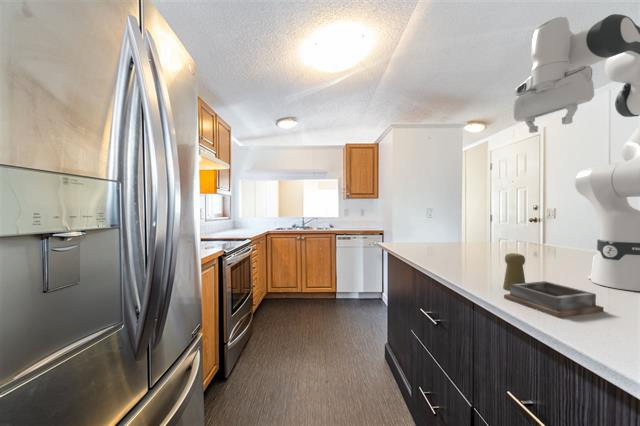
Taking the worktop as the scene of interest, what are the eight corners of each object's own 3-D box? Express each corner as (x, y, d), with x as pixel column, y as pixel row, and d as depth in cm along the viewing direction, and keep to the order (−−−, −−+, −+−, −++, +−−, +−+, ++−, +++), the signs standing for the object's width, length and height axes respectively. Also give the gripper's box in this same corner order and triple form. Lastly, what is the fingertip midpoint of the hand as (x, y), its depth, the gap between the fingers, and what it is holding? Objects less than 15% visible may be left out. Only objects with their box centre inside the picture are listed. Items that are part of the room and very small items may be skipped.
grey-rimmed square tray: (544, 293, 84) (544, 280, 84) (603, 311, 70) (603, 294, 70) (503, 298, 80) (504, 283, 80) (558, 317, 66) (558, 300, 66)
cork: (519, 286, 91) (519, 252, 91) (531, 292, 85) (531, 255, 85) (499, 286, 92) (499, 252, 92) (509, 292, 86) (509, 255, 86)
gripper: (601, 63, 73) (600, 118, 74) (525, 93, 93) (525, 137, 93) (582, 60, 72) (581, 116, 72) (509, 92, 91) (509, 136, 92)
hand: (549, 128), depth 83 cm, fingers open, 8 cm apart
